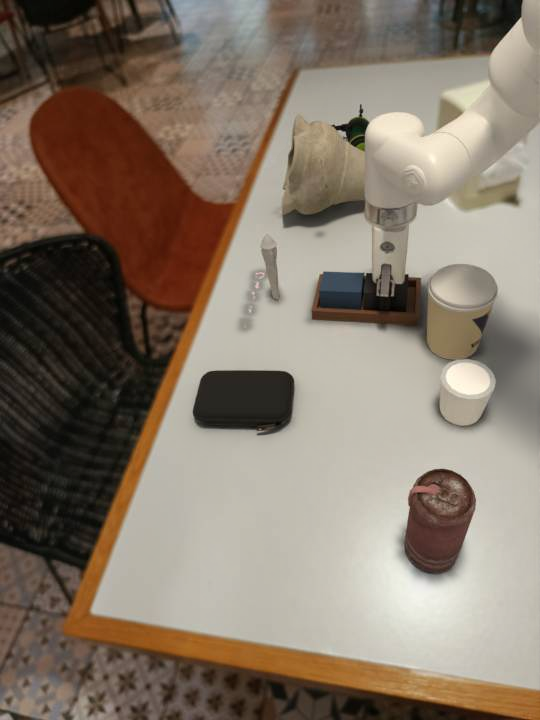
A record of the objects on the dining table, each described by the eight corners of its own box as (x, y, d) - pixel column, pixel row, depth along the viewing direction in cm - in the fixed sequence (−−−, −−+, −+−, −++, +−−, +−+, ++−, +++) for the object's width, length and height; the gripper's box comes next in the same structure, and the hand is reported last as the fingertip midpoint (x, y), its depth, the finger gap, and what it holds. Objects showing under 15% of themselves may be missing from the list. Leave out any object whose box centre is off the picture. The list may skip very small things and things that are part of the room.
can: (398, 524, 64) (405, 466, 54) (452, 522, 63) (469, 463, 53) (405, 574, 60) (414, 522, 50) (462, 574, 59) (484, 520, 49)
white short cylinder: (446, 383, 77) (453, 351, 72) (493, 401, 74) (503, 370, 69) (427, 416, 74) (432, 385, 69) (475, 437, 71) (484, 406, 65)
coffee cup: (480, 369, 78) (495, 310, 69) (416, 358, 81) (423, 300, 72) (486, 326, 84) (501, 266, 75) (426, 317, 87) (434, 258, 78)
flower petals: (256, 273, 100) (255, 270, 100) (266, 273, 100) (265, 270, 100) (239, 328, 91) (238, 326, 90) (250, 329, 91) (249, 326, 90)
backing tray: (420, 286, 92) (421, 277, 90) (418, 325, 86) (419, 316, 84) (320, 282, 96) (319, 273, 94) (312, 319, 90) (311, 310, 88)
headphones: (405, 124, 111) (311, 133, 114) (403, 167, 118) (314, 173, 121) (399, 93, 121) (313, 101, 124) (397, 134, 129) (316, 140, 132)
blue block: (364, 290, 92) (364, 272, 89) (361, 310, 89) (361, 292, 86) (324, 288, 94) (323, 271, 91) (320, 308, 90) (318, 290, 87)
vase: (427, 112, 106) (291, 91, 105) (450, 145, 90) (289, 121, 89) (397, 212, 120) (277, 194, 119) (412, 257, 103) (272, 237, 102)
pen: (273, 292, 96) (262, 227, 85) (286, 295, 95) (277, 230, 84) (267, 301, 94) (255, 236, 84) (280, 304, 93) (270, 239, 83)
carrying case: (191, 434, 77) (290, 436, 75) (186, 422, 75) (288, 424, 72) (204, 378, 84) (296, 378, 81) (200, 365, 82) (294, 365, 79)
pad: (407, 292, 90) (408, 273, 87) (405, 312, 87) (407, 294, 84) (366, 290, 92) (366, 272, 89) (363, 310, 89) (363, 292, 86)
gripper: (415, 242, 69) (406, 336, 83) (419, 174, 80) (410, 267, 94) (358, 240, 71) (358, 333, 85) (369, 174, 82) (368, 266, 95)
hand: (385, 298), depth 89 cm, fingers closed on pad, 4 cm apart
